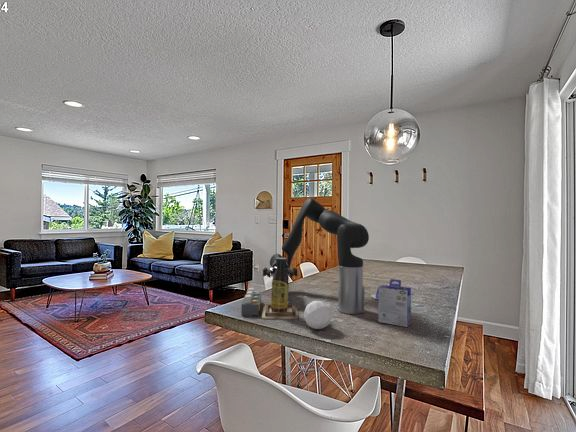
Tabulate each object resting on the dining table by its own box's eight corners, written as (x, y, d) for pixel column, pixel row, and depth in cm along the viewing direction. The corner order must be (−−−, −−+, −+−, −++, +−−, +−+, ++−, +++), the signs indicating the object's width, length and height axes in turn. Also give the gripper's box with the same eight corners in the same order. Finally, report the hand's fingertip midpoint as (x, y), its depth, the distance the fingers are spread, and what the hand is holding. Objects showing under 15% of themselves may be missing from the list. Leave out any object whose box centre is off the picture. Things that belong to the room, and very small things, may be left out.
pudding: (379, 294, 150) (379, 282, 150) (403, 298, 141) (403, 286, 142) (365, 298, 141) (365, 286, 141) (391, 303, 133) (391, 291, 133)
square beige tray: (296, 307, 124) (296, 303, 124) (298, 319, 110) (298, 313, 110) (263, 307, 124) (263, 303, 124) (261, 319, 110) (261, 313, 110)
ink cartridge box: (411, 323, 107) (411, 280, 107) (408, 328, 102) (408, 283, 102) (382, 318, 112) (382, 277, 112) (377, 322, 107) (378, 280, 108)
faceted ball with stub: (333, 329, 95) (336, 321, 107) (324, 298, 97) (329, 294, 109) (306, 335, 97) (312, 327, 108) (298, 305, 99) (305, 301, 110)
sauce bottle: (268, 312, 116) (268, 258, 116) (275, 308, 122) (275, 256, 122) (284, 314, 113) (284, 259, 113) (291, 310, 119) (291, 257, 119)
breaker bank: (261, 302, 132) (261, 287, 132) (258, 315, 114) (259, 297, 114) (246, 302, 132) (246, 287, 132) (241, 315, 114) (241, 297, 114)
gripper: (264, 260, 140) (262, 265, 124) (296, 260, 141) (298, 265, 124) (264, 276, 140) (262, 284, 124) (296, 276, 141) (298, 284, 124)
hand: (280, 275), depth 124 cm, fingers open, 8 cm apart
